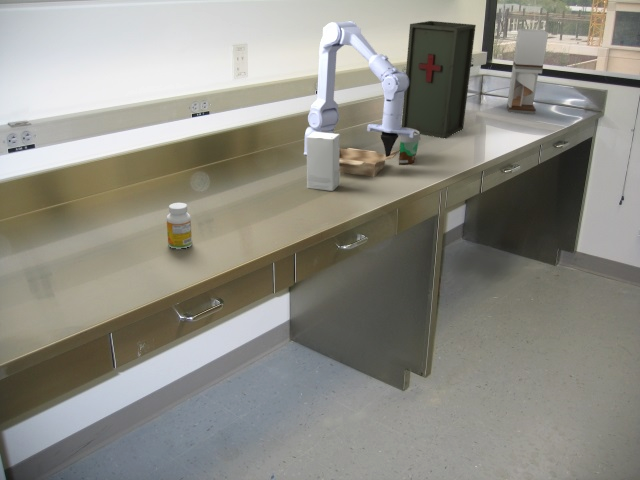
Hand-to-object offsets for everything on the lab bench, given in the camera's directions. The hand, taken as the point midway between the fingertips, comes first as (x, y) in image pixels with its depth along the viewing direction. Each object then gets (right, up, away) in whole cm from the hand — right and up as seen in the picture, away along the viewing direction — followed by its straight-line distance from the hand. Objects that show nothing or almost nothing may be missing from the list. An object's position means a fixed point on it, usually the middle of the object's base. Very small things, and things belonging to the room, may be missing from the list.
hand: (388, 156), depth 204 cm
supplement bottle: (-53, -27, -53) cm, 80 cm away
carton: (-9, -2, +7) cm, 12 cm away
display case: (+70, +33, +94) cm, 122 cm away
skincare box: (-21, -11, -12) cm, 26 cm away
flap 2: (-2, 0, +1) cm, 2 cm away
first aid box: (+23, +17, +55) cm, 62 cm away
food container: (+8, 0, +14) cm, 17 cm away
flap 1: (-12, -1, -2) cm, 12 cm away
